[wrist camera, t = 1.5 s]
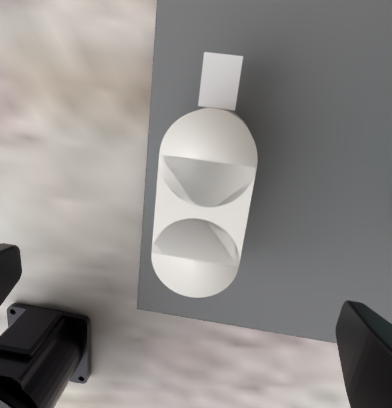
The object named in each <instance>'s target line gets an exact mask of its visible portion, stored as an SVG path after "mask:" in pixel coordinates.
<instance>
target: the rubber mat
mask: <svg viewBox="0 0 392 408" xmlns="http://www.w3.org/2000/svg"><path fill="white" fill-rule="evenodd" d="M204 52H210V53H219V54H228V55H237V56H243V61H242V67H241V74H240V81H239V87H238V94H237V101H236V107H235V111H234V110H231V111H233V112H234V113H236V114H237V115H238V116H240V117H241V118H242V120H243V121H244V122H245V124H246V125H247V127H248V129H249V131H250V133H251V135H252V137H253V139H254V142H255V145H256V148H257V157H258V162H257V169H256V175H255V180H254V186H253V191H252V197H251V202H250V208H249V213H248V219H247V225H246V230H245V236H244V241H243V247H242V252H241V258H240V263H239V268H238V272H237V274H236V277H235V278H234V280H233V281H232V283H231V284H230V285H229V286H228V287H227V288H226V289H224V290H223V291H221V292H219V293H217V294H215V295H212V296H209V297H202V298H194V297H187V296H183V295H181V294H178V293H176V292H174V291H172V290H171V289H169V288H168V287H167V286H166V285H164V284H163V283H162V281H161V280H160V279H159V278H158V276H157V274H156V273H155V270H154V268H153V264H152V259H151V252H152V239H153V226H154V214H155V201H156V188H157V175H158V162H159V152H160V146H161V143H162V140H163V138H164V135H165V134H166V132H167V130H168V129H169V128H170V127H171V125H172V124H173V123H174V122H176V121H177V120H178V119H179V118H181V117H182V116H184V115H186V114H188V113H191V112H193V111H196V110H200V109H203V108H207V107H202V106H198V102H199V93H200V84H201V75H202V66H203V58H204ZM347 300H350V301H356V302H361V303H364V304H365V305H366V306H368V307H369V308H370V309H372V310H373V311H375V312H376V313H377V314H379V315H380V316H381V317H383V318H384V319H386V320H387V321H388V322H390V323H391V324H392V0H157V11H156V27H155V42H154V57H153V73H152V88H151V103H150V118H149V134H148V149H147V164H146V179H145V195H144V210H143V225H142V240H141V256H140V271H139V286H138V301H137V309H140V310H146V311H152V312H158V313H164V314H170V315H175V316H181V317H187V318H193V319H199V320H204V321H210V322H216V323H222V324H228V325H233V326H239V327H245V328H251V329H257V330H263V331H268V332H274V333H280V334H286V335H292V336H297V337H303V338H309V339H315V340H321V341H326V342H332V343H337V340H336V333H335V330H336V324H337V321H338V318H339V315H340V312H341V308H342V305H343V303H344V302H345V301H347Z"/></svg>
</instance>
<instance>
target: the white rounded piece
mask: <svg viewBox="0 0 392 408" xmlns="http://www.w3.org/2000/svg"><path fill="white" fill-rule="evenodd" d="M242 61H243V56H237V55H228V54H219V53H210V52H204V58H203V66H202V75H201V84H200V93H199V102H198V106H202V107H207V108H203V109H200V110H196V111H193V112H191V113H188V114H186V115H184V116H182V117H181V118H179V119H178V120H177V121H176V122H174V123H173V124H172V125H171V127H170V128H169V129H168V130H167V132H166V134H165V135H164V138H163V140H162V143H161V146H160V152H159V162H158V175H157V188H156V201H155V214H154V226H153V239H152V252H151V259H152V264H153V268H154V270H155V273H156V274H157V276H158V278H159V279H160V280H161V281H162V283H163V284H164V285H166V286H167V287H168V288H169V289H171V290H172V291H174V292H176V293H178V294H181V295H183V296H187V297H194V298H202V297H209V296H212V295H215V294H217V293H219V292H221V291H223V290H224V289H226V288H227V287H228V286H229V285H230V284H231V283H232V281H233V280H234V278H235V277H236V274H237V272H238V268H239V263H240V258H241V252H242V247H243V241H244V236H245V230H246V225H247V219H248V213H249V208H250V202H251V197H252V191H253V186H254V180H255V175H256V169H257V162H258V157H257V148H256V145H255V142H254V139H253V137H252V135H251V133H250V131H249V129H248V127H247V125H246V124H245V122H244V121H243V120H242V118H241V117H240V116H238V115H237V114H236V113H234V112H233V111H231V110H234V111H235V107H236V101H237V94H238V87H239V81H240V74H241V67H242Z"/></svg>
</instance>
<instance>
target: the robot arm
mask: <svg viewBox="0 0 392 408" xmlns="http://www.w3.org/2000/svg"><path fill="white" fill-rule="evenodd" d="M21 274H22V267H21V257H20V249H19V248H18V247H17V246H16V245H11V244H5V243H2V244H0V306H1V304H2V303H3V302H4V300H5V299H6V297H7V296H8V295H9V293H10V292H11V290H12V289H13V288H14V286H15V285H16V283H17V282H18V281H19V279H20V277H21ZM7 318H8V328H7V329H6V330H5V331H4V332H3V333H2V334H1V335H0V408H54V406H55V405H56V403H57V401H58V399H59V398H60V396H61V394H62V393H63V391H64V389H65V387H66V386H67V384H68V382H69V381H71V382H77V383H83V384H84V383H86V382H87V380H88V378H89V352H90V321H89V318H88V317H86V316H84V315H79V314H73V313H68V312H62V311H56V310H50V309H45V308H39V307H33V306H28V305H22V304H16V303H13V304H11V305H10V306H9V307H8V308H7ZM81 321H82V322H83V323H82V322H81ZM335 333H336V340H337V345H338V350H339V356H340V361H341V367H342V372H343V377H344V383H345V387H346V392H347V396H348V399H349V403H350V406H351V408H392V324H391V323H390V322H388V321H387V320H386V319H384V318H383V317H381V316H380V315H379V314H377V313H376V312H375V311H373V310H372V309H370V308H369V307H368V306H366V305H365V304H364V303H361V302H356V301H350V300H347V301H345V302H344V303H343V305H342V308H341V312H340V315H339V318H338V321H337V324H336V330H335Z"/></svg>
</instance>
